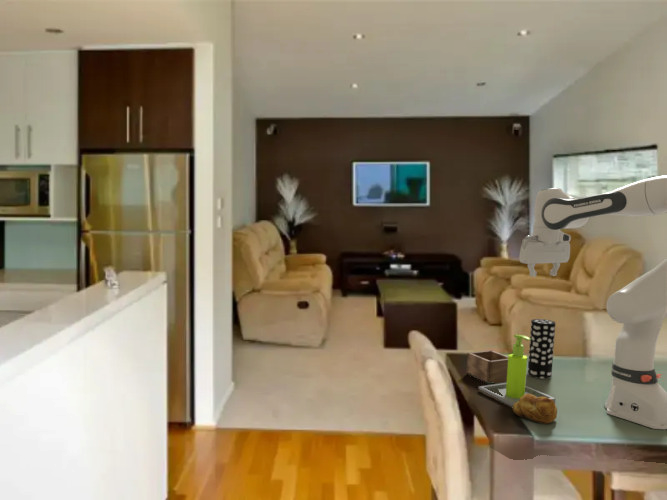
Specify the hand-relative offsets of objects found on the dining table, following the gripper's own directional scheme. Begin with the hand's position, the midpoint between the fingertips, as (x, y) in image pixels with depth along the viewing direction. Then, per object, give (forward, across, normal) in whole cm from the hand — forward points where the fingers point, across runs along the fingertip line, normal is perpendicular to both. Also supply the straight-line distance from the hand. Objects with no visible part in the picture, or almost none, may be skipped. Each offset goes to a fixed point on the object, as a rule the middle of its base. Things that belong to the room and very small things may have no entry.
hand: (543, 276), depth 212 cm
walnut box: (+38, -10, +12) cm, 41 cm away
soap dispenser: (+38, -17, -8) cm, 42 cm away
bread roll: (+38, -24, -24) cm, 51 cm away
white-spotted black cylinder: (+38, +10, +7) cm, 40 cm away
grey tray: (+38, -17, -8) cm, 42 cm away
